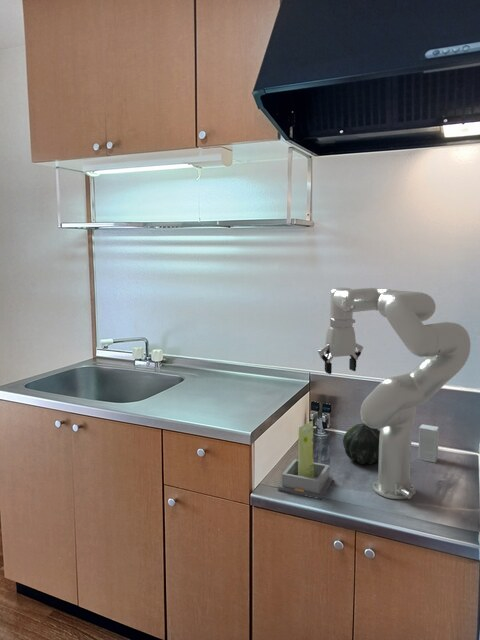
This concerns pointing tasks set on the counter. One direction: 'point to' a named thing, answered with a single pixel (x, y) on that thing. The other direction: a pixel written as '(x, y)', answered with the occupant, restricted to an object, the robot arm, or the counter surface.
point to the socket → (306, 480)
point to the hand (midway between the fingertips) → (340, 371)
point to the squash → (362, 444)
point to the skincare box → (428, 443)
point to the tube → (306, 451)
